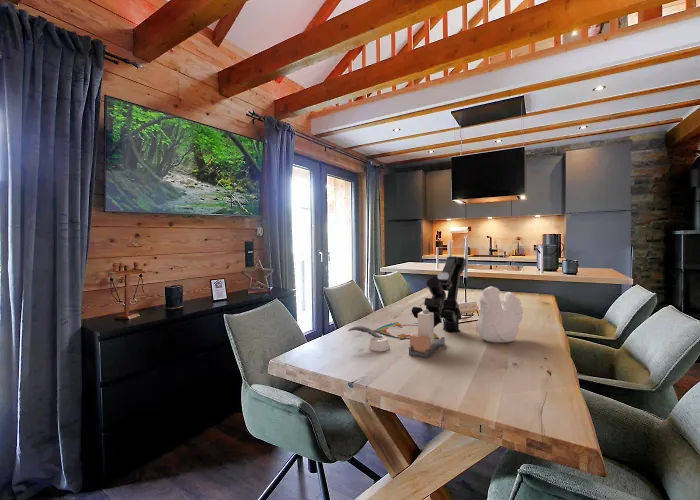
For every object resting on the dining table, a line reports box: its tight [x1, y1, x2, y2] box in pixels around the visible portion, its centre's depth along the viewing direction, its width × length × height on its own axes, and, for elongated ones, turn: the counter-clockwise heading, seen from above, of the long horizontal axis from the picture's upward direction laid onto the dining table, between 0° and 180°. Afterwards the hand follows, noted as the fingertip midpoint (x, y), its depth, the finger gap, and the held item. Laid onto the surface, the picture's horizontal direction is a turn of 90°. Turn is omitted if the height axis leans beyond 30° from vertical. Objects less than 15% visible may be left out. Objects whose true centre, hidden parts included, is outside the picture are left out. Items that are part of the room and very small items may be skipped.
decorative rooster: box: [476, 286, 524, 343], centre depth 146 cm, size 25×16×25 cm, turn 103°
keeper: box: [417, 309, 435, 346], centre depth 136 cm, size 5×5×15 cm
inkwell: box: [347, 325, 390, 352], centre depth 140 cm, size 9×18×10 cm, turn 100°
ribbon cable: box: [372, 321, 440, 340], centre depth 166 cm, size 29×1×30 cm
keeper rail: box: [408, 334, 446, 359], centre depth 138 cm, size 20×8×8 cm, turn 145°
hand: (428, 331), depth 138 cm, fingers closed, pressing on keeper
